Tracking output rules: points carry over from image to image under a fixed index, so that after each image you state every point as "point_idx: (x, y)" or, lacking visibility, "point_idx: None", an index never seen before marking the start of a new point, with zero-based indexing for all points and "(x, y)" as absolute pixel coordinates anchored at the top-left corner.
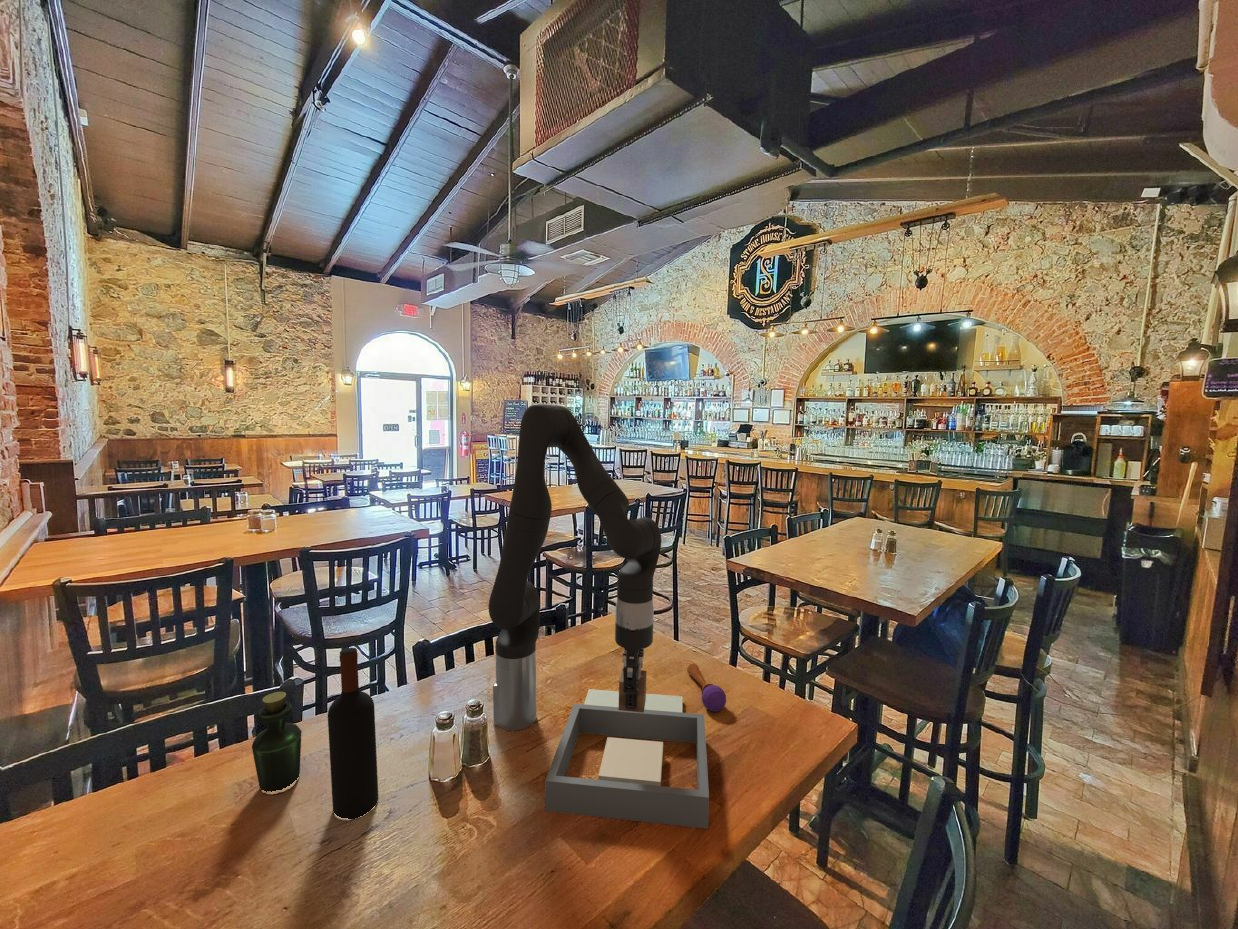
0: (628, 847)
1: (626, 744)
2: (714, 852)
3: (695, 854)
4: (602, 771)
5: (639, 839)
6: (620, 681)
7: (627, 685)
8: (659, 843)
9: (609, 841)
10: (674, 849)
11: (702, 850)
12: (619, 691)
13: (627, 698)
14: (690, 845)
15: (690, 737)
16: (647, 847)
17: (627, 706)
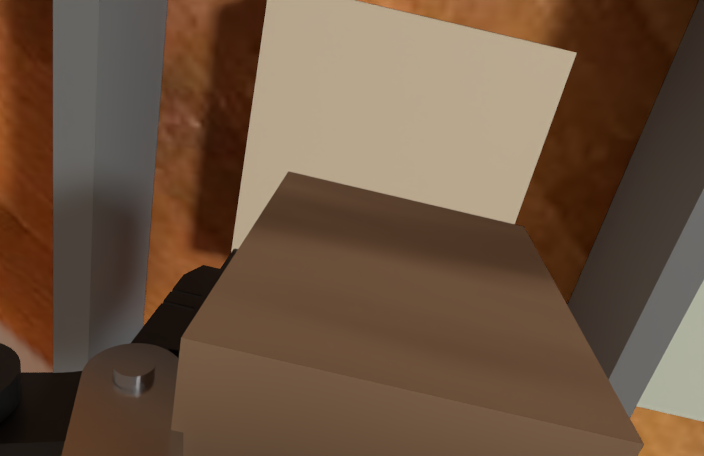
0: (7, 86)
1: (493, 149)
2: (32, 337)
3: (16, 287)
4: (298, 4)
5: (46, 129)
6: (184, 359)
7: (49, 443)
8: (40, 192)
9: (22, 16)
10: (24, 233)
11: (34, 309)
12: (235, 260)
13: (147, 322)
14: (46, 281)
15: None
16: (18, 151)
17: (191, 275)
